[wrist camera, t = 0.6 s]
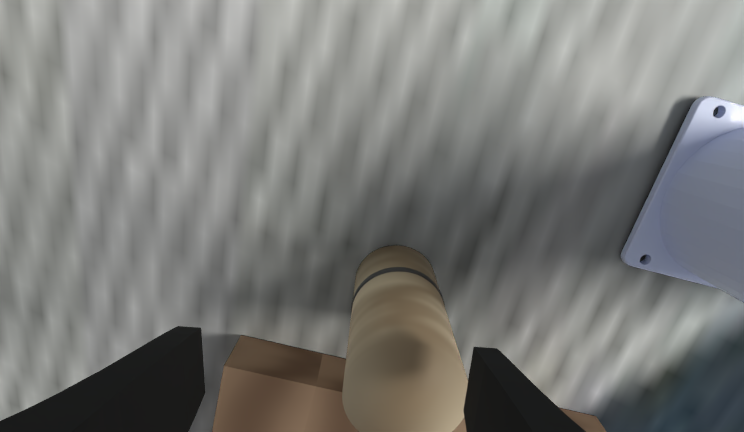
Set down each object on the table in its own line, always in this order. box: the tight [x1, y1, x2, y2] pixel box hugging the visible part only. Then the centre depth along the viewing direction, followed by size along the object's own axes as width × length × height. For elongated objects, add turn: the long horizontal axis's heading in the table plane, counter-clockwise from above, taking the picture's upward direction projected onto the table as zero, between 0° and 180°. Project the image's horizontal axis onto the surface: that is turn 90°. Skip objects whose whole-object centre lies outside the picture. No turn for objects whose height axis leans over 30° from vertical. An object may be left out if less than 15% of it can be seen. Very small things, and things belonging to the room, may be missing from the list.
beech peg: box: [342, 245, 468, 432], centre depth 16 cm, size 4×4×8 cm
